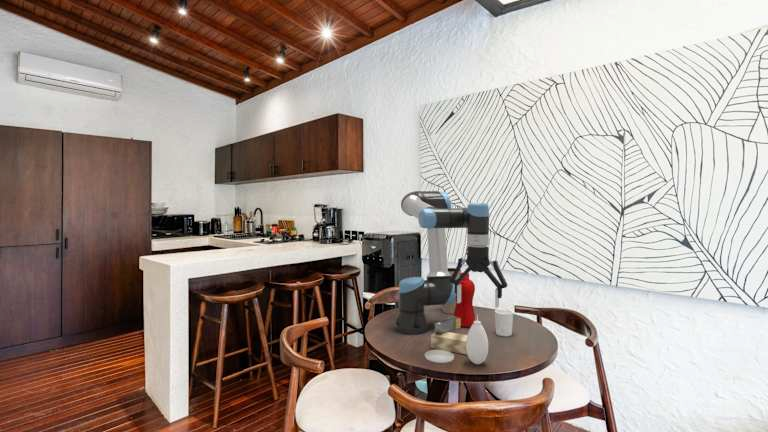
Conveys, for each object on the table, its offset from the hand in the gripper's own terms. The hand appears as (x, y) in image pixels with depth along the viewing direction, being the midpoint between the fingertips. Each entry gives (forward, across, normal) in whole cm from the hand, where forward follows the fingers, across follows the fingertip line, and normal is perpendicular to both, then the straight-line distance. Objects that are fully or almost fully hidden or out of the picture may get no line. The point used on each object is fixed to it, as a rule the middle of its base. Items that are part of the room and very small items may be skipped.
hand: (477, 304), depth 134 cm
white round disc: (+21, -14, -1) cm, 26 cm away
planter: (+21, -28, +58) cm, 68 cm away
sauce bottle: (+22, 0, 0) cm, 22 cm away
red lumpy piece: (+21, -16, +41) cm, 49 cm away
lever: (+16, -16, +15) cm, 27 cm away
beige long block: (+21, -10, +10) cm, 26 cm away
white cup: (+22, +3, +36) cm, 42 cm away
